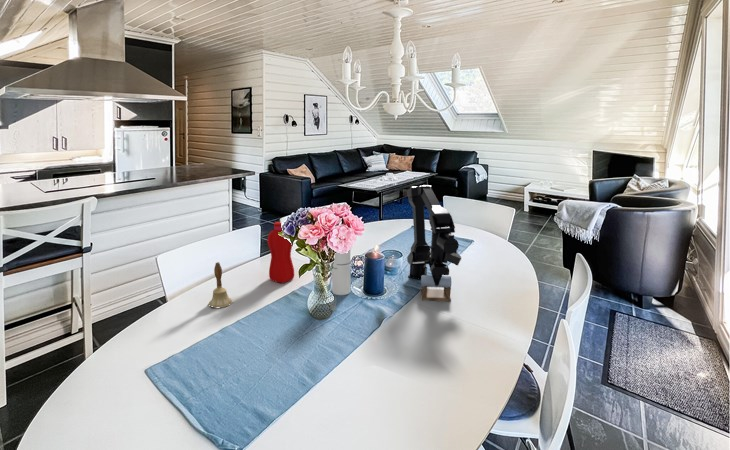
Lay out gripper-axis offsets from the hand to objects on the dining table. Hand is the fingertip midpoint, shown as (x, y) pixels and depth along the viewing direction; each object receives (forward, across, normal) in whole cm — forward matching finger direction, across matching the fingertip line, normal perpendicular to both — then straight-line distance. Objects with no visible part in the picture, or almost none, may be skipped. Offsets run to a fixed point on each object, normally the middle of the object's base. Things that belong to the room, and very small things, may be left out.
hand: (436, 283), depth 149 cm
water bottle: (+6, +11, +63) cm, 64 cm away
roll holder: (+6, 0, 0) cm, 6 cm away
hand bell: (+6, -13, +80) cm, 81 cm away
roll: (+2, 0, 0) cm, 2 cm away
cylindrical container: (+6, +1, +37) cm, 37 cm away
